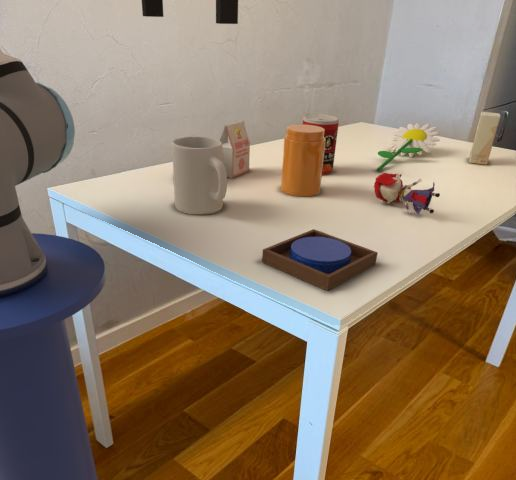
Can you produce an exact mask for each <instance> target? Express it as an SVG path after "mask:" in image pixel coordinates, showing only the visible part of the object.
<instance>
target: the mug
mask: <svg viewBox="0 0 516 480" xmlns="http://www.w3.org/2000/svg"><path fill="white" fill-rule="evenodd" d="M171 152H172V153H171V155H172V173H173V192H174V193H173V195H174V207H175V209H176V210H177V211H179V212H181V213H184V214H188V215H199V216H200V215H201V216H202V215H209V214H210V215H211V214H214V213H215V214H216V213H217V212H219V211H221V210H222V209H223V204H224V202H223V201H224V199H225V197H226V195H227V190H228V189H227V188H228V177H227V175H226V169H225V166H224V164H223V163H222V142H221V141H220V139H217V138H213V137H208V136H184V137H179V138H175V139H174V140H172V142H171Z"/></svg>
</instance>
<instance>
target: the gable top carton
mask: <svg viewBox="0 0 516 480" xmlns="http://www.w3.org/2000/svg"><path fill="white" fill-rule="evenodd" d="M219 141H221V142H222V163H223V164H224V166H225V169H226V175H227V178H230V179H233V178H236V177H238V176H241V175H243V174H245V173H248V172H250V157H251V156H250V155H251V154H250V152H251V142H250V138H249V135H248V133H247V129H246V126H245V120H240V121H237V122H233V123H232V122H231V123H230V124H226V125H224V127H223V131H222V134H221V136H220V139H219Z"/></svg>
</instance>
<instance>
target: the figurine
mask: <svg viewBox="0 0 516 480" xmlns="http://www.w3.org/2000/svg"><path fill="white" fill-rule="evenodd" d="M402 175H403V174H402V173H401V174H400V173H399V172H397V173H388V172H383V173H381V174H379V175H378V176H377V177H375V181H374V183H373V189H374V194H375V196H376V198H378V199H379V200H381V201H382V202H383V201H384V202H386V204H387V205H390V204H391V203H392V202H394V201H397V202H398V203H400V202H401V201H402V203H403V204H404V206H405V208H406V210H407V214H411V213H412V211H411V210H410V207H409V203H412V208H413V210H414V212H415V213H416V214H417V216H419V215H420V213H421V211H422V210H423V211H427V212H429V214H434V212H435V209H431V208H430V207H429V206H430V204H431V201H432V198H433V197H435V198H440V196H441V195H440V193H438V192H435V186H436V185H435V182H433V183H432V187H431V188H428V189H412V188H413V187H414V186H416V185H417V184H419V183H422V179H421V178H419V179H418V180H417V181H414V182H412V183H410V184H404V183H403V180H402V179H401V177H402Z"/></svg>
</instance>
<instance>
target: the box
mask: <svg viewBox="0 0 516 480" xmlns="http://www.w3.org/2000/svg"><path fill="white" fill-rule="evenodd" d="M501 117H502V116H501V114H500V113H499V112H488V111H481V112H480V116H479V119H478V123H477V127H476V130H475V135H474V139H473V143H472V146H471V150H470V154H469V157H468V162H469V164H478V165H487V166H488V162H489V159H490V155H491V151H492V149H493V145H494V142H495V138H496V134H497V132H498V131H497V130H498V128H499V123H500V120H501Z"/></svg>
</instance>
